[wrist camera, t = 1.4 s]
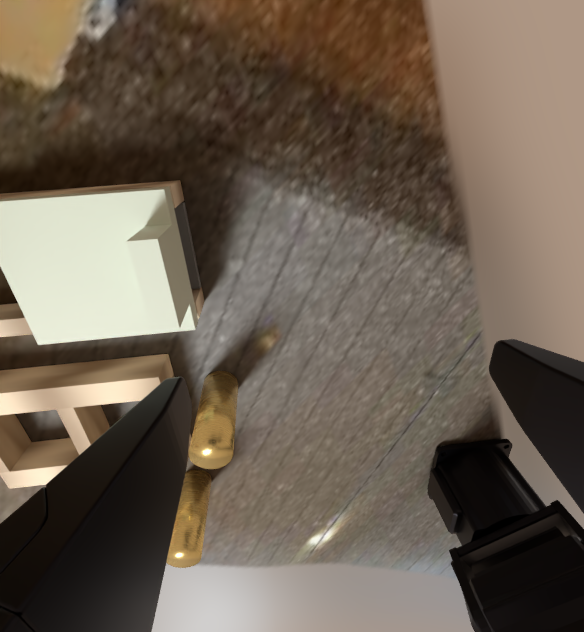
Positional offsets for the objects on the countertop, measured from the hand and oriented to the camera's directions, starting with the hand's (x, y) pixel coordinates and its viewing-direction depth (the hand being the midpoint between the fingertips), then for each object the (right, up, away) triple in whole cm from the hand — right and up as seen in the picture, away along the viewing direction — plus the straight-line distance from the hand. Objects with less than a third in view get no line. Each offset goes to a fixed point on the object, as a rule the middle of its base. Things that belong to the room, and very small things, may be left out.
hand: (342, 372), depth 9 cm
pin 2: (-6, -3, +15) cm, 17 cm away
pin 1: (-9, -12, +20) cm, 25 cm away
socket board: (-15, -5, +15) cm, 22 cm away
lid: (-11, +4, +8) cm, 14 cm away
